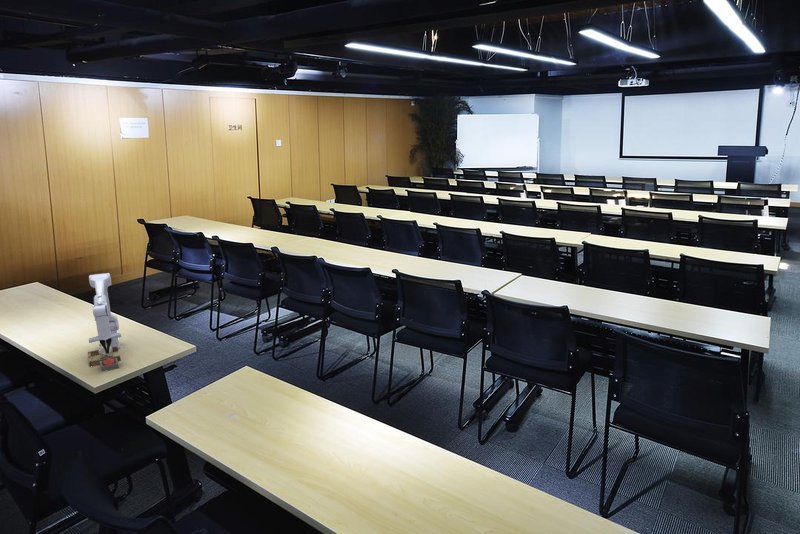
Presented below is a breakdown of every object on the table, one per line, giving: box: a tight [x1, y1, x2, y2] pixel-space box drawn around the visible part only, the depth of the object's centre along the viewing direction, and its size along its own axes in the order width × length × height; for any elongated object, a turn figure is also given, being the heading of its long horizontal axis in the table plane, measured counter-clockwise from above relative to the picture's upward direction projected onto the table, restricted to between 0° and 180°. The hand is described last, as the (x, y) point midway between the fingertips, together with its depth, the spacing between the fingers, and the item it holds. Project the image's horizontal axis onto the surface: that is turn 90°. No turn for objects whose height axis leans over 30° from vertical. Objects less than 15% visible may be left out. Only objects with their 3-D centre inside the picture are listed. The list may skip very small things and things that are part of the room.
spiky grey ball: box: [97, 344, 114, 359], centre depth 289 cm, size 9×8×10 cm
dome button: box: [103, 358, 115, 366], centre depth 279 cm, size 5×5×4 cm
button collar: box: [99, 358, 120, 372], centre depth 280 cm, size 8×8×2 cm
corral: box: [87, 346, 122, 368], centre depth 289 cm, size 15×14×2 cm
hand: (107, 352), depth 278 cm, fingers closed
